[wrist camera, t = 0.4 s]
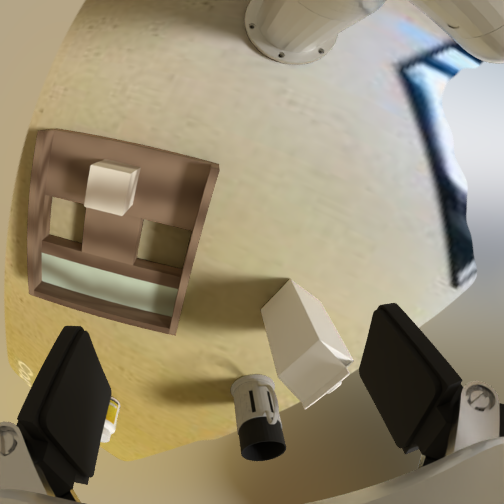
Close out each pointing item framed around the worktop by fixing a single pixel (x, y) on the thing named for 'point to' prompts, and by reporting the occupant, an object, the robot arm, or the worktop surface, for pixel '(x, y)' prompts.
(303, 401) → the milk carton
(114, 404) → the supplement bottle
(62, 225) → the worktop surface
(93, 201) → the block
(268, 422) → the white and black mug
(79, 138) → the box
